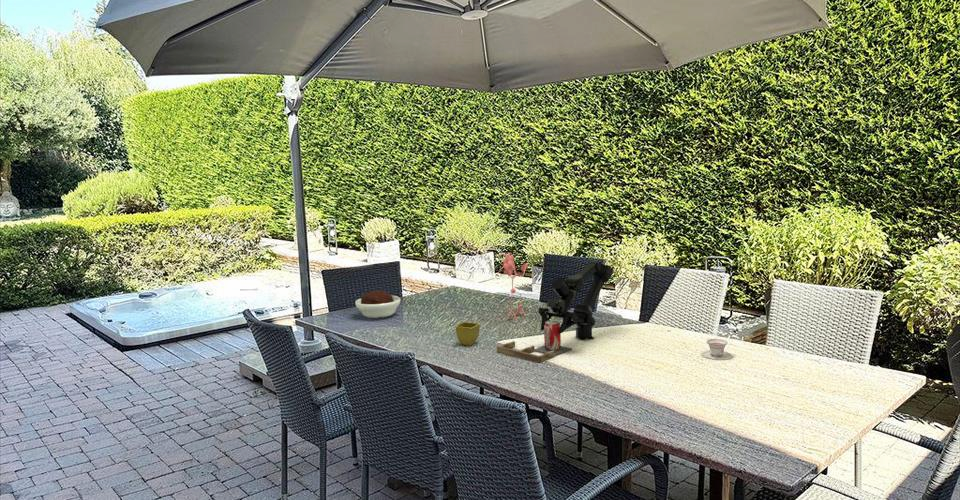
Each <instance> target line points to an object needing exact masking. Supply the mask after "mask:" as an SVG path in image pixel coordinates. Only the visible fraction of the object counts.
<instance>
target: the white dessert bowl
mask: <svg viewBox="0 0 960 500" xmlns="http://www.w3.org/2000/svg"><path fill="white" fill-rule="evenodd" d="M400 303H401V298H400V297H399V296H397V295H392V294H390V293H389V292H388V293H387V291H386V290H371V291H369V292H365V293H364V294H363V295H362V296H361V298H358V299H356V300H355V306H356V308H357V309H358V310H359V311H360V313H361V314H362V316H363V317H365V318H371V319H380V318H379V317H382V318H386V317H389V316H392V315H393V314H395V312H396V310H397V307H399V305H400Z"/></svg>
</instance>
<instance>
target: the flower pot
mask: <svg viewBox="0 0 960 500" xmlns="http://www.w3.org/2000/svg"><path fill="white" fill-rule="evenodd" d="M480 326H481V323H479V322H468V321H463V322H460V323H459V324H457V325H455V326H454V327H455V334H456V337H457V340H458V342H459V343H460V345H462V344H463V346H464V345H465V346H472V345H474V344H475V343H476V341H478V338H479V335H480V328H481V327H480Z"/></svg>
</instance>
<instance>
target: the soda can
mask: <svg viewBox="0 0 960 500" xmlns="http://www.w3.org/2000/svg"><path fill="white" fill-rule="evenodd" d="M549 320H550V321H546V322H545V325H544V330H543V332H544V333H543V335H544V338H543V339H544V346H545V348H546V349H547V350H550V351H552V350H554V351H555V350H558V349H559V348H560V347H561V346H562V340H561V339H562V337H561V335H562V333H561V334H558V331H559V328H560V326H561V324H560V323H559V321H558V320H554V319H553V320H552V319H549Z"/></svg>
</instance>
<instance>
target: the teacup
mask: <svg viewBox="0 0 960 500" xmlns="http://www.w3.org/2000/svg"><path fill="white" fill-rule="evenodd" d="M706 343H707V345H708V348H709V349H708V350H703V351H701V353H700V355H701V356H702V357H704V358H705V359H709V360H716V361H718V360H719V361H721V360H722V361H724V360H730V359H732V358H733V354H732V353H730V352H728V351H725V347H726V346H727V345H728V341H727V340H726V339H722V338H709V339H706Z"/></svg>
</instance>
